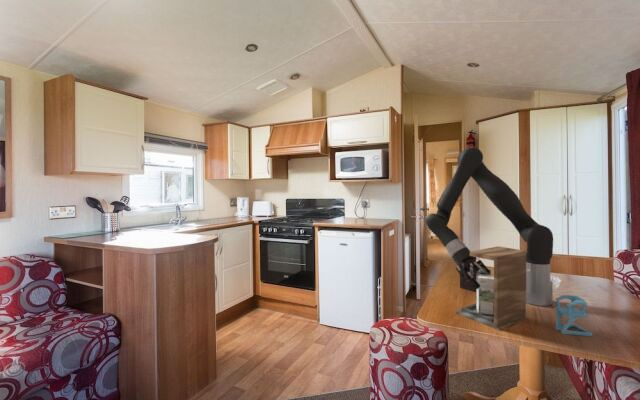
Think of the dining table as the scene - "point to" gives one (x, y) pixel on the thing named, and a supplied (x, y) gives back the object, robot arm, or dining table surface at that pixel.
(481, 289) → the syrup box
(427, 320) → the dining table surface
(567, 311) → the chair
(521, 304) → the walnut shelf
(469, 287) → the coffee grinder
